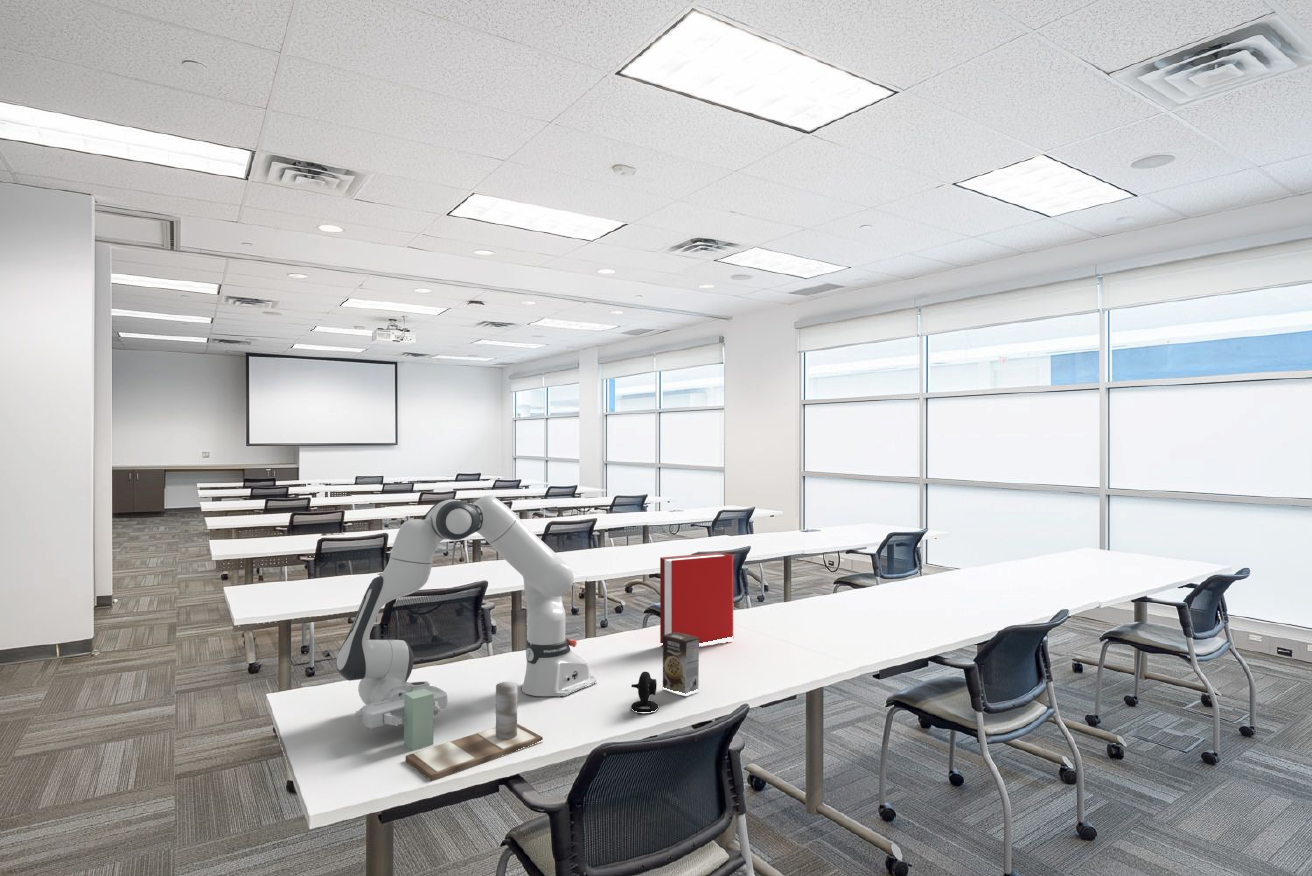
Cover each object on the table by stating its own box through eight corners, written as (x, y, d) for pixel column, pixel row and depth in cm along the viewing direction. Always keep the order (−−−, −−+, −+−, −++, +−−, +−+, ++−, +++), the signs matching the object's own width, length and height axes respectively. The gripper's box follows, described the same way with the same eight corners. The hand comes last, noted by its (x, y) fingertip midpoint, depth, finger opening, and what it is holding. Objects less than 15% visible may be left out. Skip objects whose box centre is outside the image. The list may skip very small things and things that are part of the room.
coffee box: (661, 690, 197) (661, 635, 198) (676, 685, 202) (676, 630, 202) (685, 698, 191) (685, 640, 192) (699, 692, 196) (699, 636, 196)
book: (671, 652, 236) (671, 560, 237) (660, 646, 243) (660, 557, 244) (735, 641, 249) (734, 554, 250) (722, 636, 256) (722, 552, 257)
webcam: (655, 715, 178) (655, 677, 178) (628, 714, 180) (628, 676, 180) (660, 705, 186) (660, 668, 186) (634, 703, 187) (634, 667, 187)
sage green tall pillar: (424, 738, 164) (424, 688, 164) (433, 744, 161) (433, 693, 161) (403, 744, 161) (404, 693, 161) (412, 750, 157) (413, 699, 157)
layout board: (513, 726, 171) (513, 673, 171) (542, 742, 162) (542, 685, 162) (405, 761, 152) (406, 701, 152) (431, 781, 142) (431, 717, 143)
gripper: (352, 699, 164) (374, 714, 154) (432, 679, 178) (457, 693, 168) (352, 725, 164) (374, 742, 154) (432, 703, 178) (457, 718, 168)
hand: (418, 716), depth 161 cm, fingers open, 8 cm apart
